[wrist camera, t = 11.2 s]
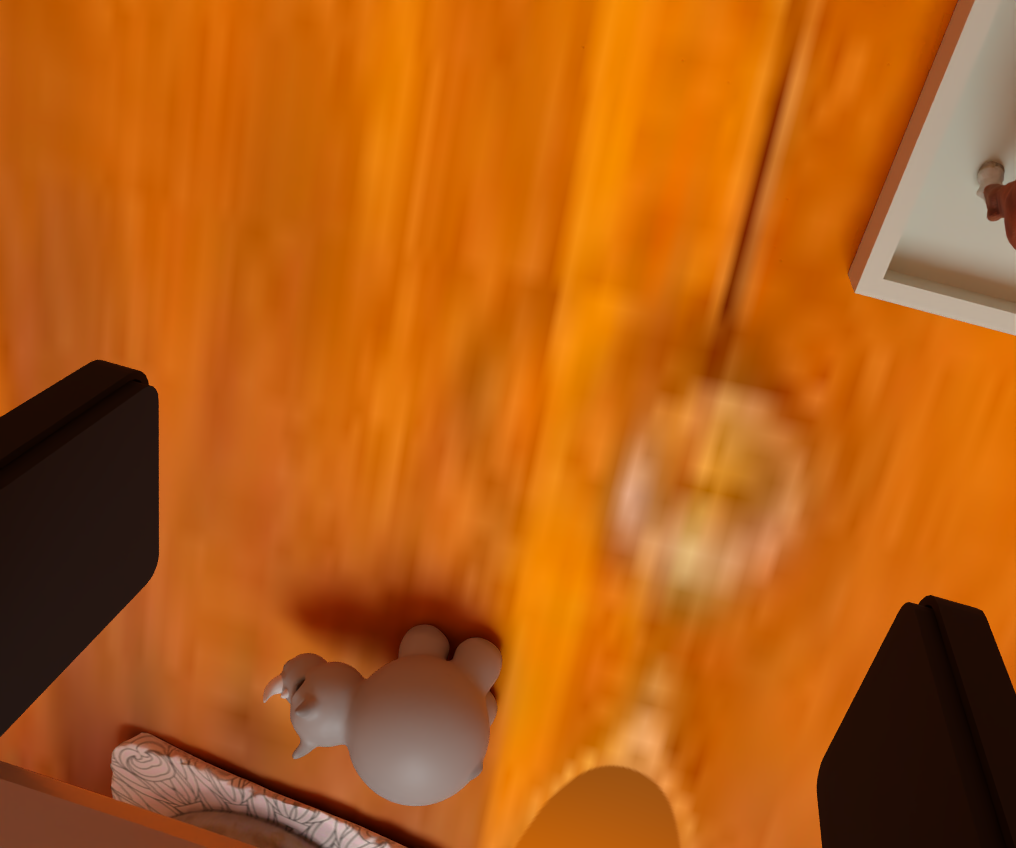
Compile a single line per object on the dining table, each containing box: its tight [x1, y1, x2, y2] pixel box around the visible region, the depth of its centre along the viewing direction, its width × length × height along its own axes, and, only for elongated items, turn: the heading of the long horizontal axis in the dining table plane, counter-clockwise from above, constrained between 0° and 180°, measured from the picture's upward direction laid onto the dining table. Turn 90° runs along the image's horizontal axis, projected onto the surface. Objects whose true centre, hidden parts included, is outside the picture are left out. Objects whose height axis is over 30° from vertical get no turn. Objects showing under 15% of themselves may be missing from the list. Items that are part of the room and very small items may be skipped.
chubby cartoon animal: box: [263, 624, 502, 806], centre depth 48 cm, size 8×12×9 cm, turn 81°
